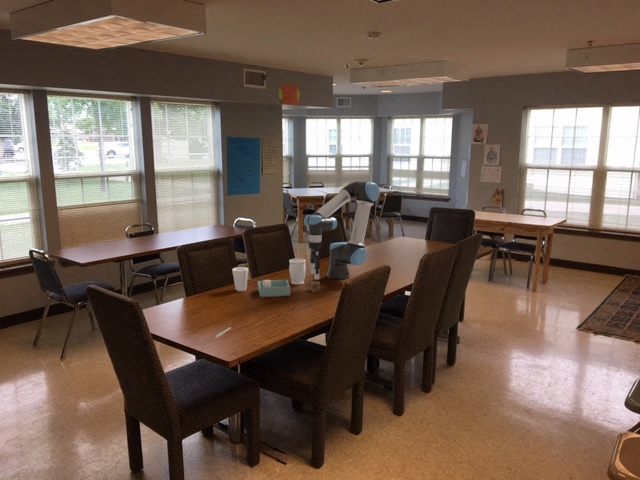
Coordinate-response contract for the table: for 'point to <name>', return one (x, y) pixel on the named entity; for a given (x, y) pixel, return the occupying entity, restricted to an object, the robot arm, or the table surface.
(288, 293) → the tote
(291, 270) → the jar
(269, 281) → the ceramic canister
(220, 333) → the butter knife
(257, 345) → the table surface
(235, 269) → the foam cup
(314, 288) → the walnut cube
